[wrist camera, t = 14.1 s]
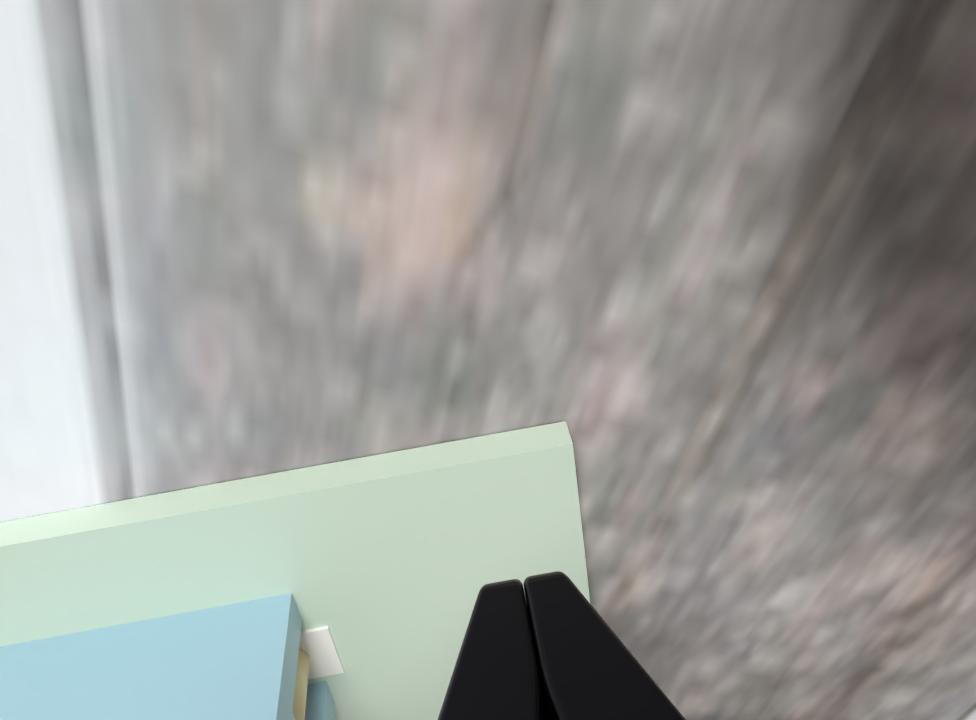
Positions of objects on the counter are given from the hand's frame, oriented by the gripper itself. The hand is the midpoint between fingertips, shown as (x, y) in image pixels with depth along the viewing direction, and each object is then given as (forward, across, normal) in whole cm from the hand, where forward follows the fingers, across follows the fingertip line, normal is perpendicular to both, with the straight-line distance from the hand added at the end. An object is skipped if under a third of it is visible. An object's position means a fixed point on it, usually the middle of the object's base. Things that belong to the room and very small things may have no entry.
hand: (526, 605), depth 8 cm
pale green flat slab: (+12, +8, +13) cm, 19 cm away
